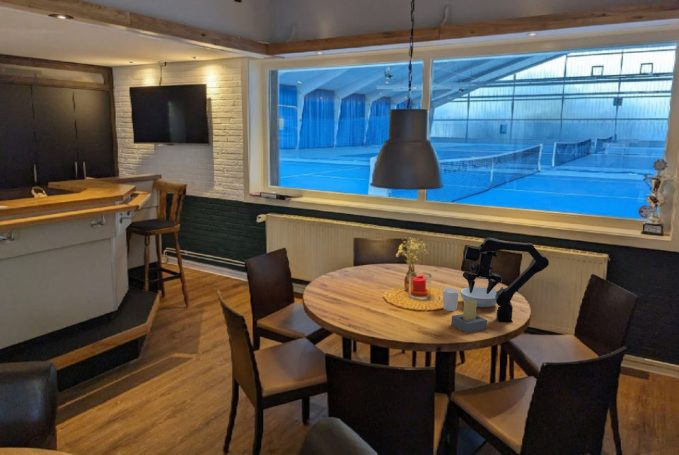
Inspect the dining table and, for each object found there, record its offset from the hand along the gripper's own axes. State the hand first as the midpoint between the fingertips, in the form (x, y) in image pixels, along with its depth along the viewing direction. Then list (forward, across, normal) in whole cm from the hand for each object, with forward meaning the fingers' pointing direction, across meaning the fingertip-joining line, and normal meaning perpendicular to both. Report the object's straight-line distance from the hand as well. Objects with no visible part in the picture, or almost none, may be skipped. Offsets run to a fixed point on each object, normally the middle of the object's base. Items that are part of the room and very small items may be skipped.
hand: (478, 293), depth 255 cm
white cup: (+15, +6, -14) cm, 21 cm away
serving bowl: (+13, -13, -17) cm, 25 cm away
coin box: (+13, +8, +11) cm, 19 cm away
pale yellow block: (+13, +8, +11) cm, 19 cm away
